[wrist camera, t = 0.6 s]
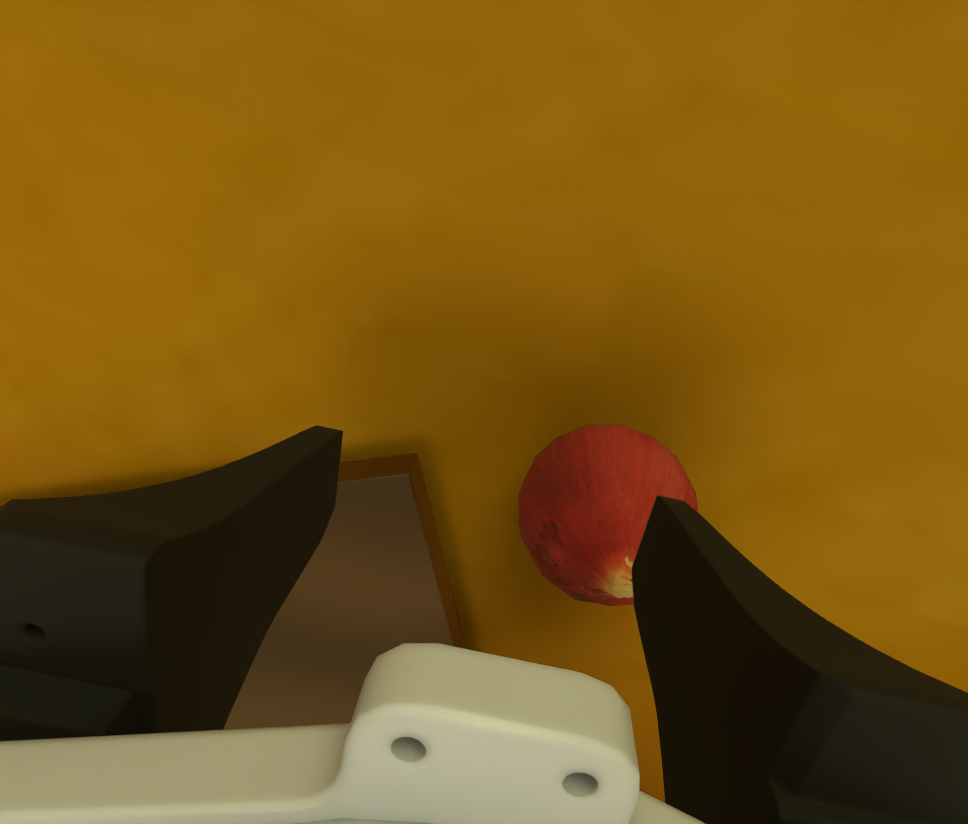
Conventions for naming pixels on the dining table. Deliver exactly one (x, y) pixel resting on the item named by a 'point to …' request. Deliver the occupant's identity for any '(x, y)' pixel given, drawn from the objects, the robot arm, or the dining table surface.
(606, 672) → the dining table surface
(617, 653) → the dining table surface
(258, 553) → the robot arm
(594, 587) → the onion
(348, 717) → the platform
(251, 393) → the dining table surface
